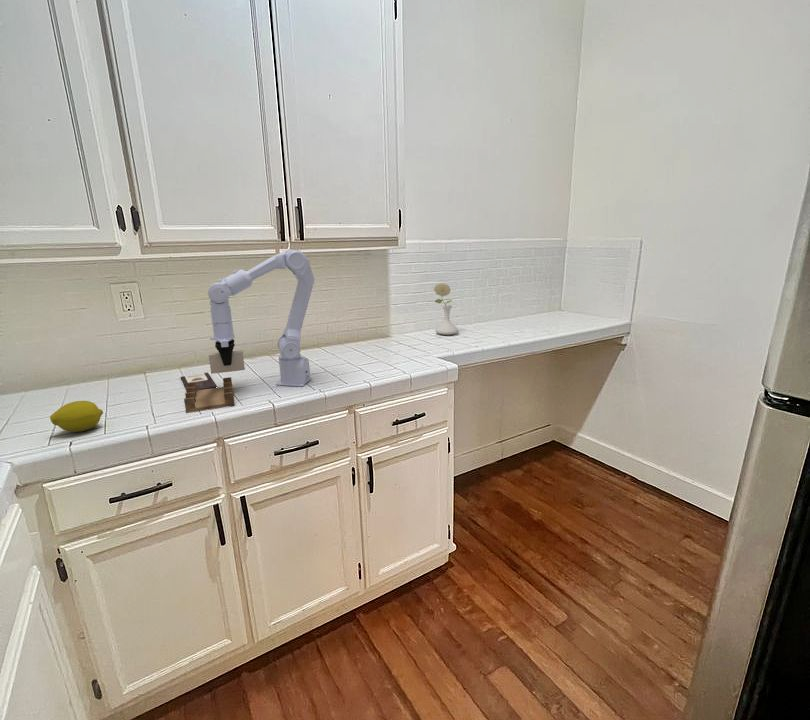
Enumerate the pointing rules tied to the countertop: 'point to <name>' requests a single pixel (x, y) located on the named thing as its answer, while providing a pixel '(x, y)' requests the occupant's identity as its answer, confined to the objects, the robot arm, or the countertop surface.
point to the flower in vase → (445, 311)
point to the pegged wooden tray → (209, 397)
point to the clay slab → (236, 365)
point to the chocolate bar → (199, 381)
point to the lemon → (77, 416)
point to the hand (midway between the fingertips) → (227, 364)
